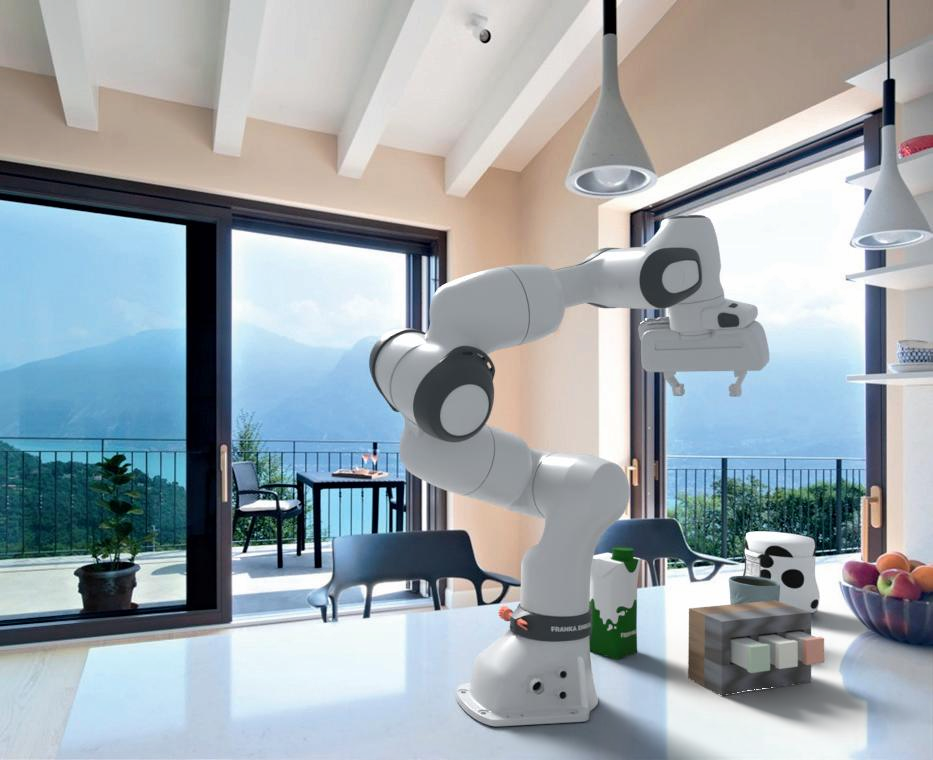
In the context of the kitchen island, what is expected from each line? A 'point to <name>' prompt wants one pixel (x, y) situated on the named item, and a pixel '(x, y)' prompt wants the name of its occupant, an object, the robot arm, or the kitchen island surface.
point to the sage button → (750, 654)
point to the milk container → (785, 566)
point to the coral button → (808, 647)
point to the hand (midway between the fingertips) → (706, 395)
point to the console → (740, 621)
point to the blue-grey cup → (753, 589)
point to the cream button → (781, 650)
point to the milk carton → (614, 603)
